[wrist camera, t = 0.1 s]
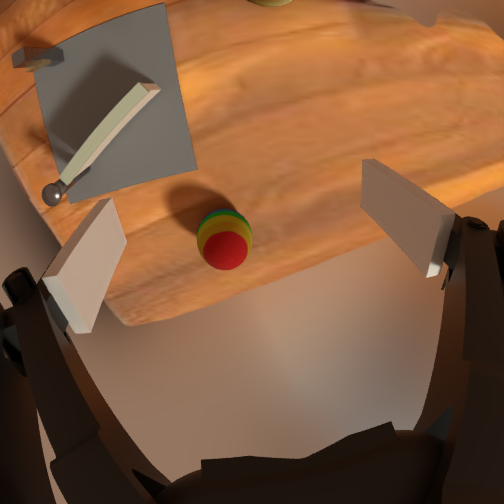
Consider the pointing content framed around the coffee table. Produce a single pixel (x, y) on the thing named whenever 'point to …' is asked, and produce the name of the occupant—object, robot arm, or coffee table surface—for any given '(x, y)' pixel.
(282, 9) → the coffee table surface
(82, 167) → the gate
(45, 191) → the hinge post
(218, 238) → the decorative egg
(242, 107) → the coffee table surface
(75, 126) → the mat
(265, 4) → the mug
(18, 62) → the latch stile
